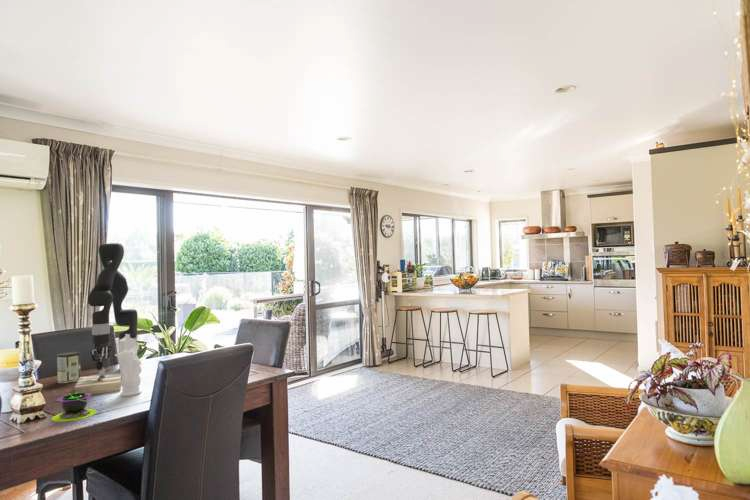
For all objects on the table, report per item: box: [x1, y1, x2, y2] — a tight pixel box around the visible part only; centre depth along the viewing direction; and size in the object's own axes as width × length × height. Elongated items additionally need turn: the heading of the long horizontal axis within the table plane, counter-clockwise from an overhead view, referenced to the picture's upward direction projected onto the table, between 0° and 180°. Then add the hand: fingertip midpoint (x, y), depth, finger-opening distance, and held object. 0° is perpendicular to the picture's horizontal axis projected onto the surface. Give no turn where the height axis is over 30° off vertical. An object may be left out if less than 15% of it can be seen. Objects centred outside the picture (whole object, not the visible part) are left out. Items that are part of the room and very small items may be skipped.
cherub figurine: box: [114, 342, 142, 397], centre depth 218 cm, size 12×12×22 cm
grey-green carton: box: [56, 350, 82, 384], centre depth 247 cm, size 10×10×14 cm
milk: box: [119, 334, 136, 378], centre depth 253 cm, size 6×6×22 cm
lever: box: [94, 357, 110, 380], centre depth 230 cm, size 9×6×9 cm, turn 19°
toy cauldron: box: [51, 386, 98, 423], centre depth 187 cm, size 15×15×11 cm
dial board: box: [74, 371, 122, 396], centre depth 230 cm, size 24×18×4 cm
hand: (101, 368), depth 233 cm, fingers closed on lever, 3 cm apart
